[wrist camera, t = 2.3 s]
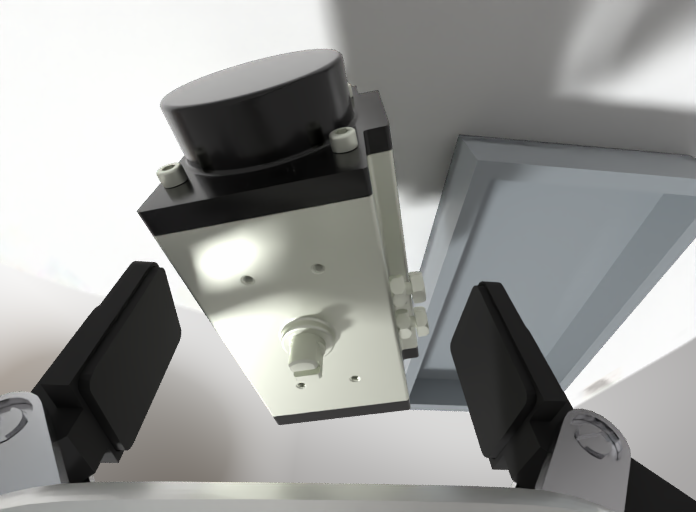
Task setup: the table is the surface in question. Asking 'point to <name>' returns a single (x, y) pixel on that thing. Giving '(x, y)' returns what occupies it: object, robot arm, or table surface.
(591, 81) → the table surface
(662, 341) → the table surface
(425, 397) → the parts tray
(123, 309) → the robot arm
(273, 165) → the pneumatic valve
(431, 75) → the table surface
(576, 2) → the table surface
